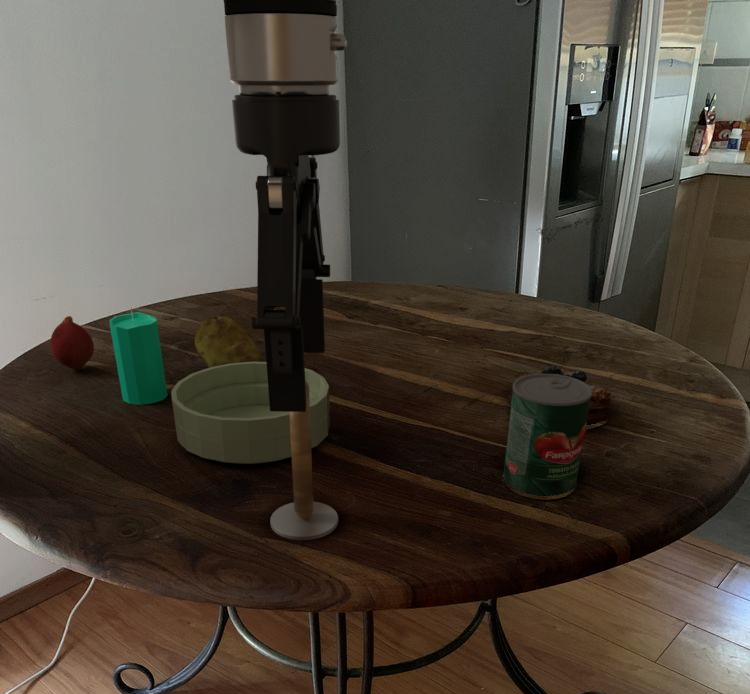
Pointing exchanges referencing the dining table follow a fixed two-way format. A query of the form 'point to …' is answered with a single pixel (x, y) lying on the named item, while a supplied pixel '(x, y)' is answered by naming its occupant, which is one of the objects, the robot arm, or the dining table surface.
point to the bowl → (241, 414)
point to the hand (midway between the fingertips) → (300, 378)
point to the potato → (225, 342)
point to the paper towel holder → (303, 488)
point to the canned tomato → (546, 433)
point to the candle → (138, 358)
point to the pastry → (598, 399)
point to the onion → (71, 344)
